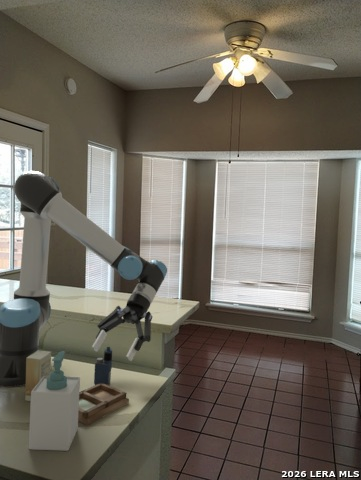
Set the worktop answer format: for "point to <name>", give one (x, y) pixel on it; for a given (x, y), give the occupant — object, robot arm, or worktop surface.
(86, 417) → the divided wooden tray
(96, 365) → the vaping device
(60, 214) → the robot arm
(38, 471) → the worktop surface
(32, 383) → the skincare box
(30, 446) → the soap bottle
